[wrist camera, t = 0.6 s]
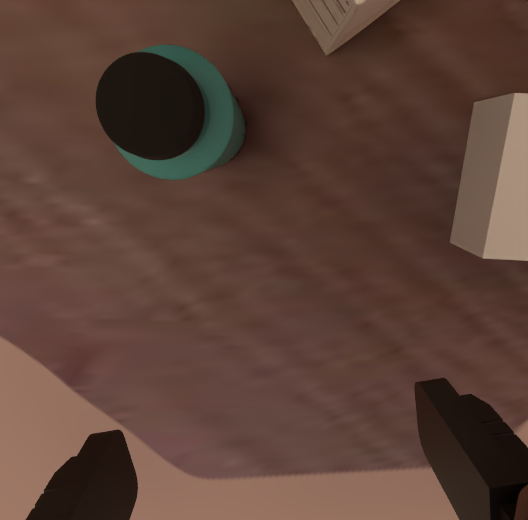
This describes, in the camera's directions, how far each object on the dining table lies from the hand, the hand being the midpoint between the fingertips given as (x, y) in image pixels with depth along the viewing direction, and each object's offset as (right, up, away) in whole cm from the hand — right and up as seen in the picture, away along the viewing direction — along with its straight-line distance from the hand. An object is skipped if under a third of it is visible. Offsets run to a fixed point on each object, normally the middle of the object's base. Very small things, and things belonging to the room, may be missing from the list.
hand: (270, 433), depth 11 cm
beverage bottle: (-5, +16, +24) cm, 29 cm away
